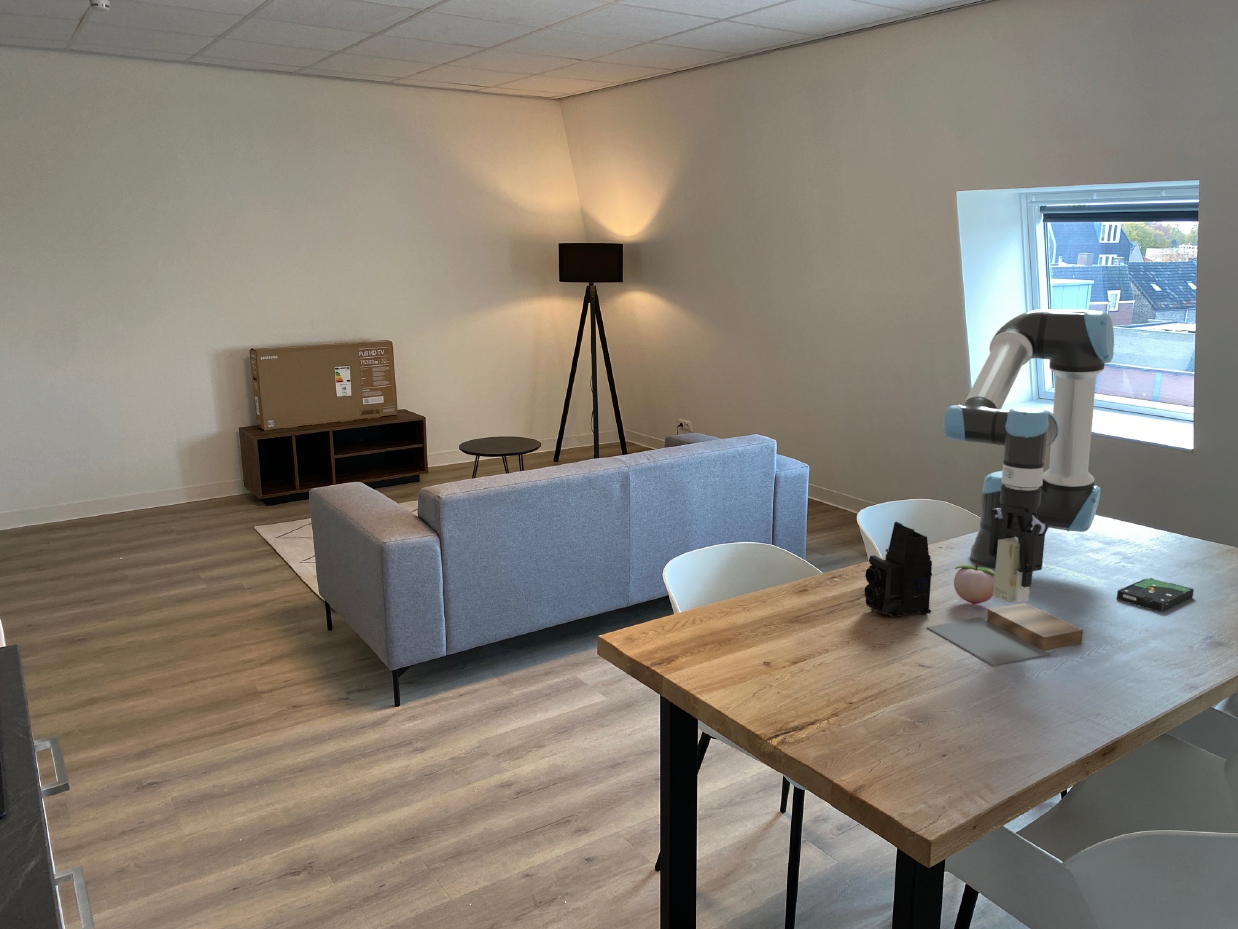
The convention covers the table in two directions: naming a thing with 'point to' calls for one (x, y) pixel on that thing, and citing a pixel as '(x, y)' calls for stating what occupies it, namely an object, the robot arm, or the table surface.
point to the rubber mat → (988, 641)
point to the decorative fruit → (974, 583)
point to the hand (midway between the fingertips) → (1011, 595)
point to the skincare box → (1007, 569)
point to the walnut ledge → (1035, 626)
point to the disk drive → (1155, 594)
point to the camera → (900, 575)
